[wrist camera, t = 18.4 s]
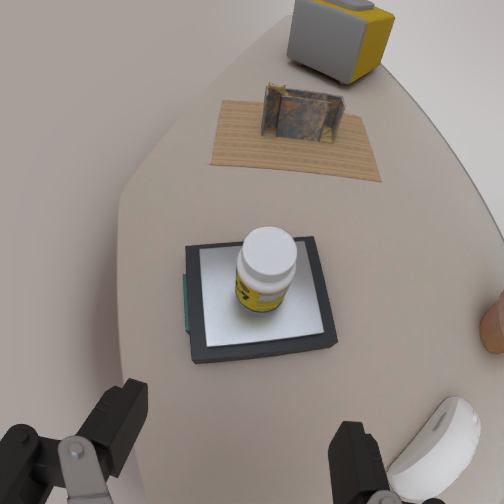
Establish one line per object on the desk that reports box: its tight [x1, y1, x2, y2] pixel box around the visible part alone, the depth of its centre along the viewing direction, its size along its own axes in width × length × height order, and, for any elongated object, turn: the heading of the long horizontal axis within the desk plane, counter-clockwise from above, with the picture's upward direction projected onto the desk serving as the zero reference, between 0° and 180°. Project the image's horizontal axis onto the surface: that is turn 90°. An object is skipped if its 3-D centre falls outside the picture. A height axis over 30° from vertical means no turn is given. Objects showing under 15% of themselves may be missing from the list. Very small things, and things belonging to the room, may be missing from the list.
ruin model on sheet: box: [211, 82, 381, 182], centre depth 42 cm, size 25×16×10 cm, turn 88°
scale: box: [183, 236, 338, 364], centre depth 31 cm, size 14×12×2 cm
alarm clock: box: [287, 0, 395, 85], centre depth 52 cm, size 20×16×18 cm
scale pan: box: [199, 241, 324, 348], centre depth 30 cm, size 11×10×1 cm
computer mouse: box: [386, 397, 481, 500], centre depth 22 cm, size 6×13×6 cm, turn 130°
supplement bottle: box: [235, 226, 297, 314], centre depth 26 cm, size 5×5×8 cm
